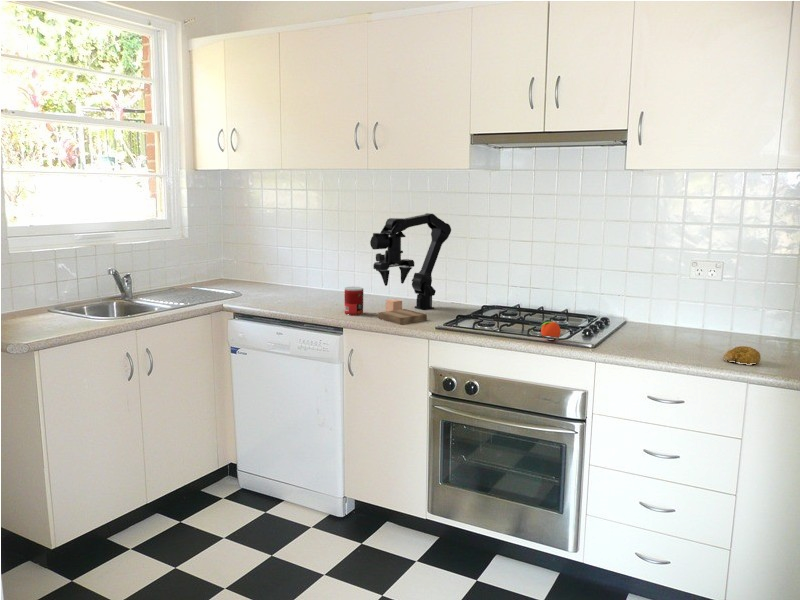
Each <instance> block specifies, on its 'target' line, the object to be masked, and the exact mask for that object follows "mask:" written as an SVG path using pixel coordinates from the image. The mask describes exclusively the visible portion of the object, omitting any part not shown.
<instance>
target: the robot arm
mask: <svg viewBox="0 0 800 600" xmlns="http://www.w3.org/2000/svg"><path fill="white" fill-rule="evenodd" d="M425 224H426V225H427V227H428V228H429V229H430V230H431V232H430V235H431V236H430V237H431V242H430V244H429V246H428V250H427V252H426V255H425V258H424V261H423V263H422V266H421V269H420V270H419V272H414V273H413V277H412V279H411V286H412V289H413V291H414V294H416V305H415V306H414V308H415V309H419V310H424V311H425V310H431V309H435V306H433V296H435V295H436V289H435V288H434V287H433V286H432V282H433V280H432V279H433V278H432V273H433V270H434V267H435V266H436V261H437V259H438V256H439V254H440V251H441V249H442V246H443V244H444V243H445V242H446V241H447V239H449V236H450V235H451V233H452V228H451V225H450V224H449V223H448V222H445V221H443V219H441V218H439V217H438V216H437V215H436V214H434V213H427V212H426V213H424V214H419V215H415V216H410V217H409V216H408V217H405V218H404V217H403V218H398V217H396V218H395V217H390V218H387V220H386V221H385V225H384V226H383V228H382V230H381V231H380V233H379V232H373V233H372V236H371V237H370V238H371V239H370V241H369V244H370V247H371V249H372V250H385V249H387V250H385V252H384V254H382V253H376V254H375V261H376V262H375V261H374V263H373V265H372V266H373V270H376V271H377V272H379V274H380V276H381V279H382V280H383V283H384V286H385V287H387V286H388V285H389V284H388V283H389V278H390V268H394V267H398V269H399V272H400V284H404V283H405V281H406V279H407V276H408V275H409V273H410V272H411V270H412V269H413V267H415V261H414V260H413V259H408V258H403V259H402V254H403V253H404V251H403V250H402V238H406V237H407V236H406V234H404V233H403V232H404V231H405V230H407V229H409V228H412V227H415V226H416V227H417V226H421V225H422V226H423V225H425Z"/></svg>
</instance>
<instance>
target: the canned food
mask: <svg viewBox="0 0 800 600" xmlns="http://www.w3.org/2000/svg"><path fill="white" fill-rule="evenodd" d="M363 313H364V287H361V286H347V287H344V314H345V315H347V314H349V315H348V316H360V315H359V314H362V315H363Z"/></svg>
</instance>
